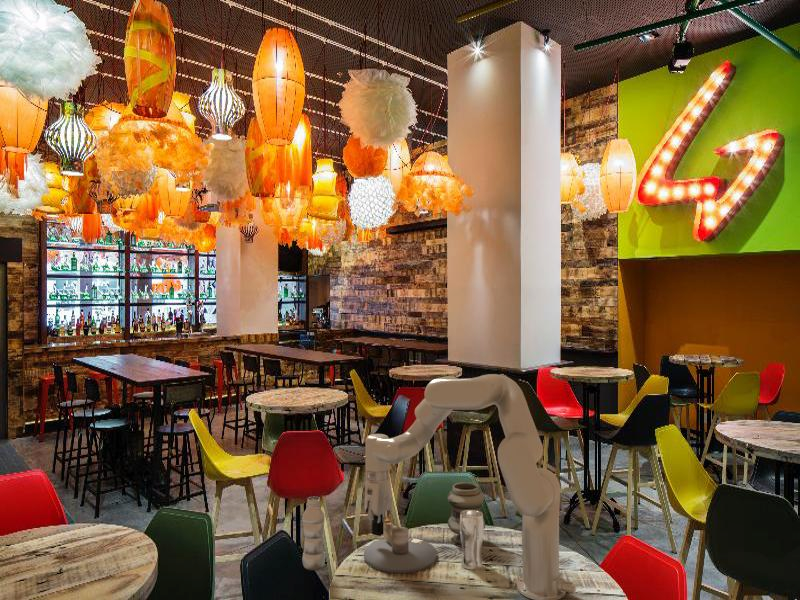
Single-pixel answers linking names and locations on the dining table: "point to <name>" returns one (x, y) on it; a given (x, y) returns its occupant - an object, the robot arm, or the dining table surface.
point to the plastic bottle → (313, 535)
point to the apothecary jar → (463, 505)
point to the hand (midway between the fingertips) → (377, 534)
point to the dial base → (400, 556)
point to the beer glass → (471, 538)
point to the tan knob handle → (396, 537)
